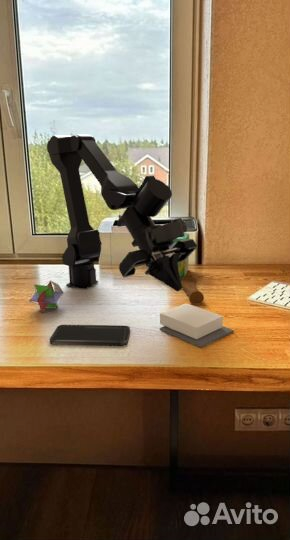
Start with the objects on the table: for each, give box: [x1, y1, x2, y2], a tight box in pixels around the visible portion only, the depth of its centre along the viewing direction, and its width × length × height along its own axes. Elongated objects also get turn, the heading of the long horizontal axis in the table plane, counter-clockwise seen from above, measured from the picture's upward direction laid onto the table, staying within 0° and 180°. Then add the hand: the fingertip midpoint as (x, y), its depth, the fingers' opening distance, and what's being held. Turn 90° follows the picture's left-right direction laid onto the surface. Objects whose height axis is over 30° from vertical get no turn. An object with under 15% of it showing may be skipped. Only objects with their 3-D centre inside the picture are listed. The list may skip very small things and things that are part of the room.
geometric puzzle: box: [29, 280, 64, 314], centre depth 94 cm, size 7×7×8 cm
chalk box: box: [165, 223, 190, 279], centre depth 119 cm, size 9×9×15 cm
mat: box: [159, 325, 235, 349], centre depth 83 cm, size 11×10×1 cm
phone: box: [49, 324, 131, 347], centre depth 81 cm, size 8×1×15 cm
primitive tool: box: [180, 277, 205, 305], centre depth 106 cm, size 19×6×4 cm, turn 6°
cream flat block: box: [159, 302, 224, 339], centre depth 84 cm, size 3×8×10 cm
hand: (179, 290), depth 84 cm, fingers closed
